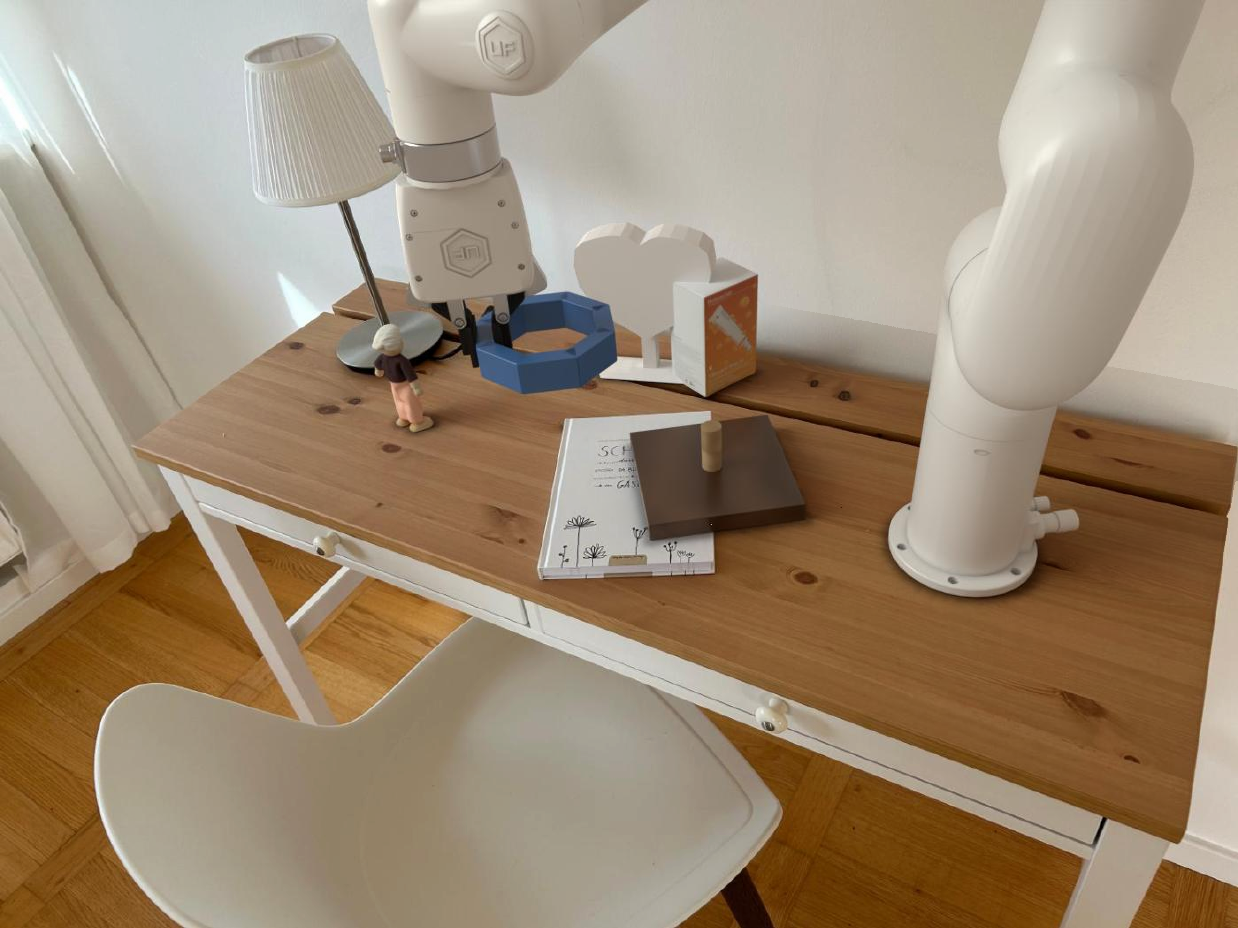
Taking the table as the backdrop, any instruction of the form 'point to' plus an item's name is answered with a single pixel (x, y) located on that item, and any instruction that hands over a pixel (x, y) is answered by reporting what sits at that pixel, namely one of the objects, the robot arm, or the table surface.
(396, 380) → the grandmother figurine
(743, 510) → the platform
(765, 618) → the table surface
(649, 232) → the heart sculpture
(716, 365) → the small box
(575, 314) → the ring
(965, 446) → the robot arm
